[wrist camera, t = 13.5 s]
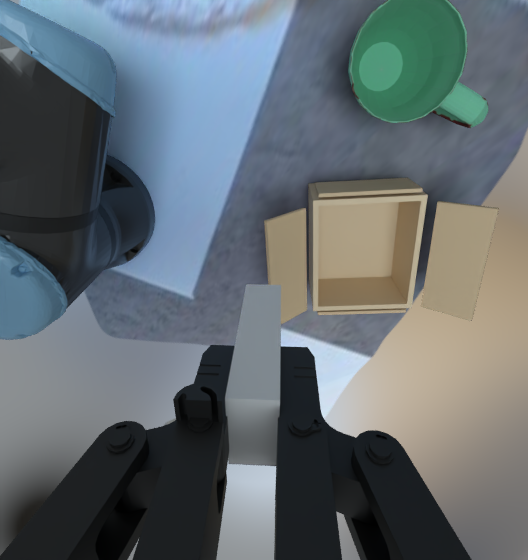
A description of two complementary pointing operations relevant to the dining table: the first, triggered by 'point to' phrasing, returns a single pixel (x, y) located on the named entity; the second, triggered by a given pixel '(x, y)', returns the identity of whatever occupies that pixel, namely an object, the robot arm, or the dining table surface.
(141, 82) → the dining table surface
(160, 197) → the dining table surface
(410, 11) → the mug
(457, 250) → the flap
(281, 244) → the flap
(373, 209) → the carton
